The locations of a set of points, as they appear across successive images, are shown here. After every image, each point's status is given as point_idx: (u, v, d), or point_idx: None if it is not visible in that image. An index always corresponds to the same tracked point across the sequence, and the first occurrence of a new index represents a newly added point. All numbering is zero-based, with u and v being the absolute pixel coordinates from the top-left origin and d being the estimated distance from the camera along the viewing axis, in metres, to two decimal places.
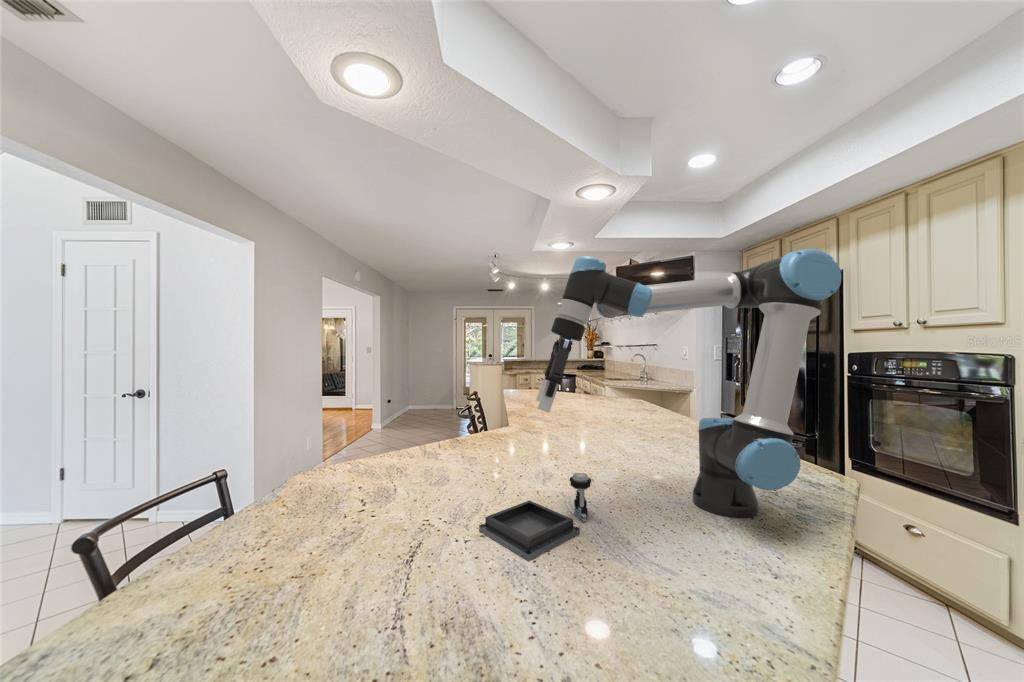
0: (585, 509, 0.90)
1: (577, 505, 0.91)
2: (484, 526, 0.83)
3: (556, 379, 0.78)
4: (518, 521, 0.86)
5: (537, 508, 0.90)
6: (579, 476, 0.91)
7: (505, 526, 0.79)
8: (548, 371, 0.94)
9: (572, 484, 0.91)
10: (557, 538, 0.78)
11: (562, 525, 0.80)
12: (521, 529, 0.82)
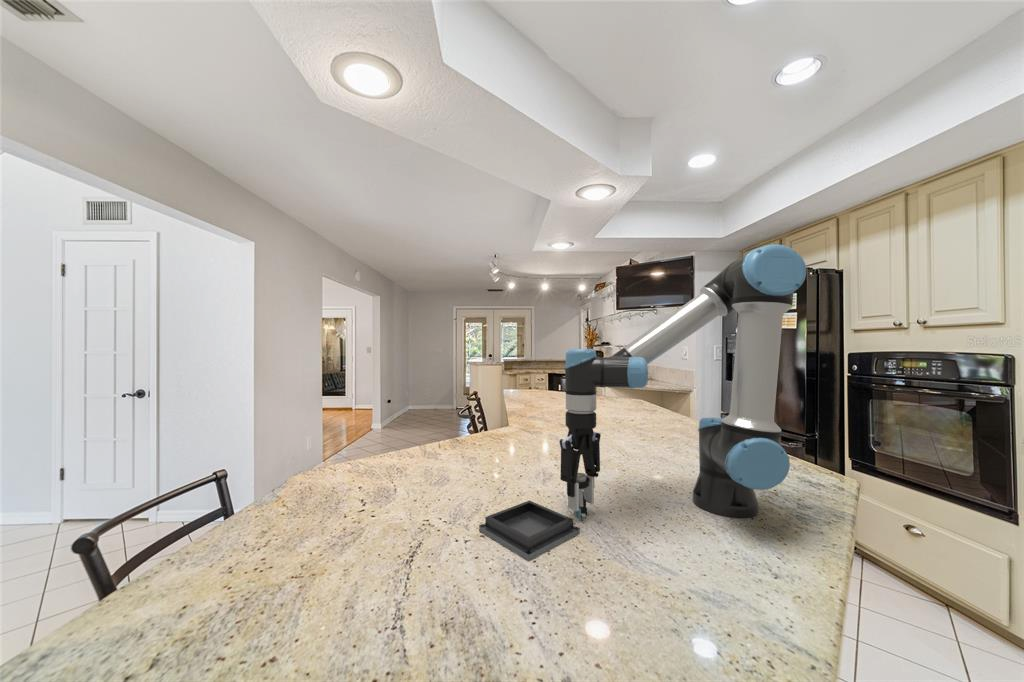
0: (585, 509, 0.90)
1: None
2: (484, 526, 0.83)
3: (565, 481, 0.87)
4: (518, 521, 0.86)
5: (537, 508, 0.90)
6: (577, 476, 0.91)
7: (505, 526, 0.79)
8: (585, 467, 0.94)
9: None
10: (557, 538, 0.78)
11: (562, 525, 0.80)
12: (521, 529, 0.82)
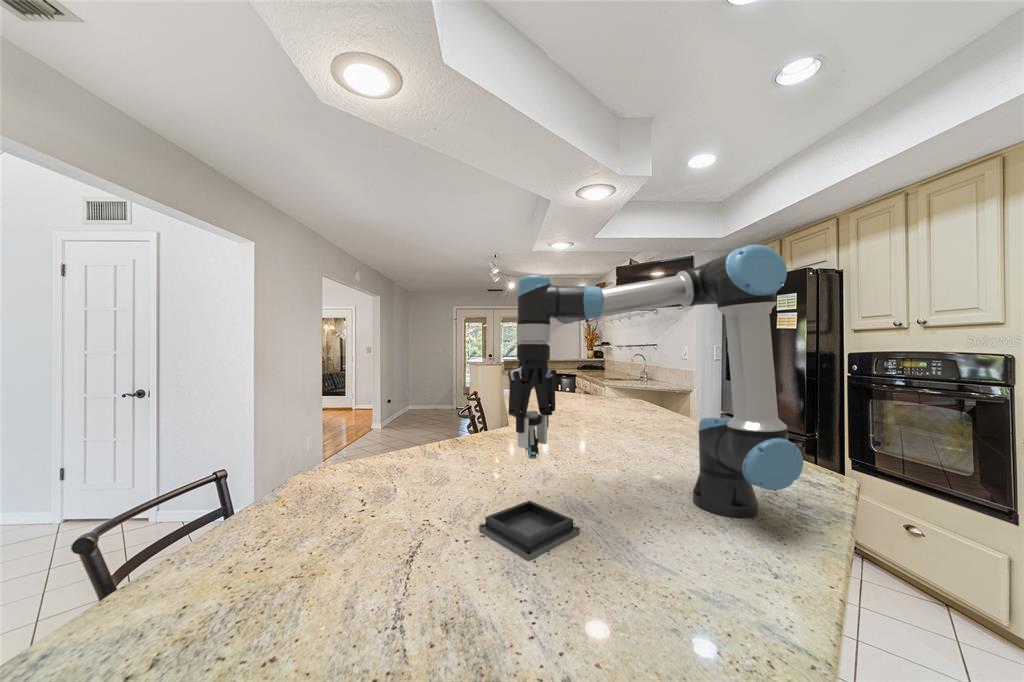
0: (535, 447, 0.83)
1: None
2: (484, 526, 0.83)
3: (513, 415, 0.81)
4: (518, 521, 0.86)
5: (537, 508, 0.90)
6: (528, 413, 0.84)
7: (505, 526, 0.79)
8: (539, 405, 0.87)
9: None
10: (557, 538, 0.78)
11: (562, 525, 0.80)
12: (521, 529, 0.82)
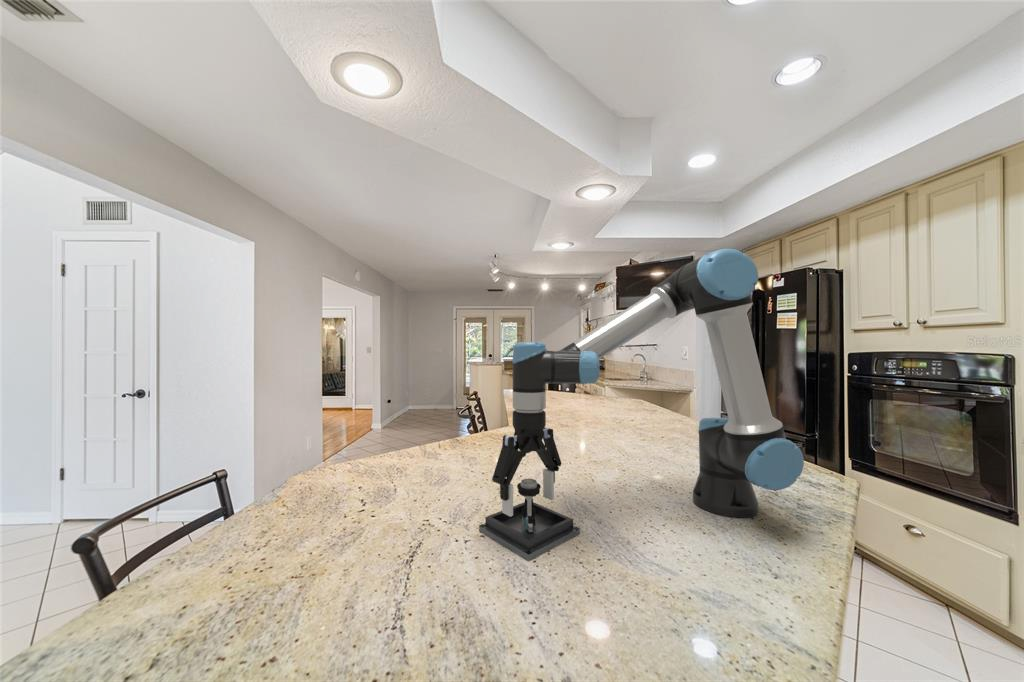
0: (532, 518, 0.82)
1: (524, 514, 0.83)
2: (484, 526, 0.83)
3: (496, 482, 0.77)
4: (518, 521, 0.86)
5: (537, 508, 0.90)
6: (527, 482, 0.83)
7: (505, 526, 0.79)
8: (544, 463, 0.88)
9: (519, 491, 0.83)
10: (557, 538, 0.78)
11: (562, 525, 0.80)
12: (521, 529, 0.82)
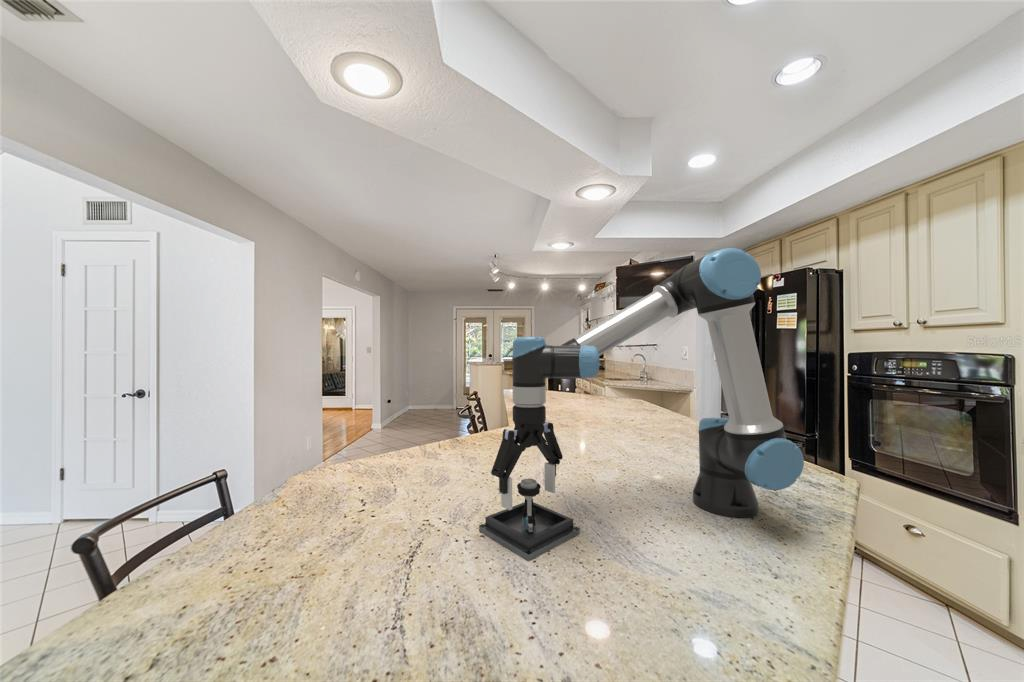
0: (532, 518, 0.82)
1: (524, 514, 0.83)
2: (484, 526, 0.83)
3: (495, 475, 0.77)
4: (518, 521, 0.86)
5: (537, 508, 0.90)
6: (527, 482, 0.83)
7: (505, 526, 0.79)
8: (545, 457, 0.88)
9: (519, 491, 0.83)
10: (557, 538, 0.78)
11: (562, 525, 0.80)
12: (521, 529, 0.82)
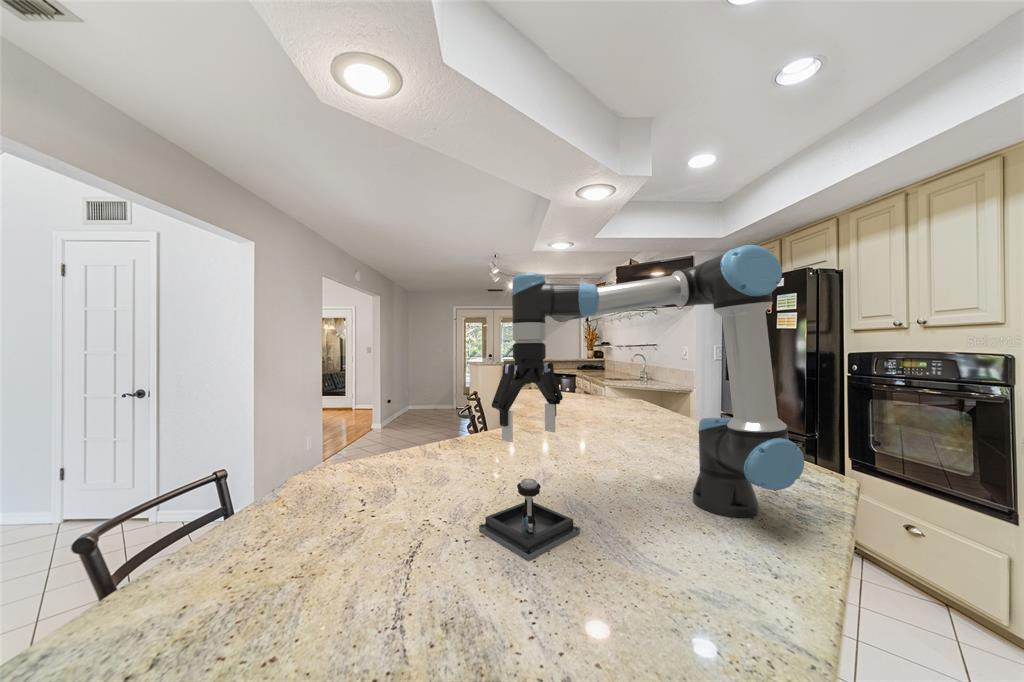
0: (532, 518, 0.82)
1: (524, 514, 0.83)
2: (484, 526, 0.83)
3: (496, 407, 0.77)
4: (518, 521, 0.86)
5: (537, 508, 0.90)
6: (527, 482, 0.83)
7: (505, 526, 0.79)
8: (545, 397, 0.89)
9: (519, 491, 0.83)
10: (557, 538, 0.78)
11: (562, 525, 0.80)
12: (521, 529, 0.82)
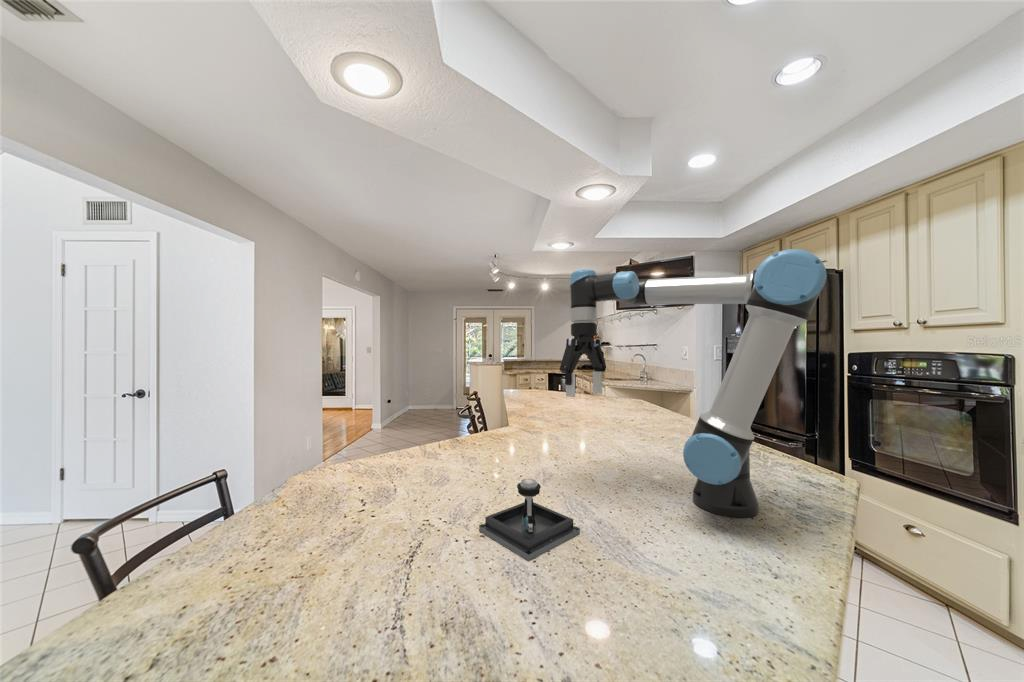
0: (532, 518, 0.82)
1: (524, 514, 0.83)
2: (484, 526, 0.83)
3: (563, 370, 1.02)
4: (518, 521, 0.86)
5: (537, 508, 0.90)
6: (527, 482, 0.83)
7: (505, 526, 0.79)
8: (593, 366, 1.14)
9: (519, 491, 0.83)
10: (557, 538, 0.78)
11: (562, 525, 0.80)
12: (521, 529, 0.82)
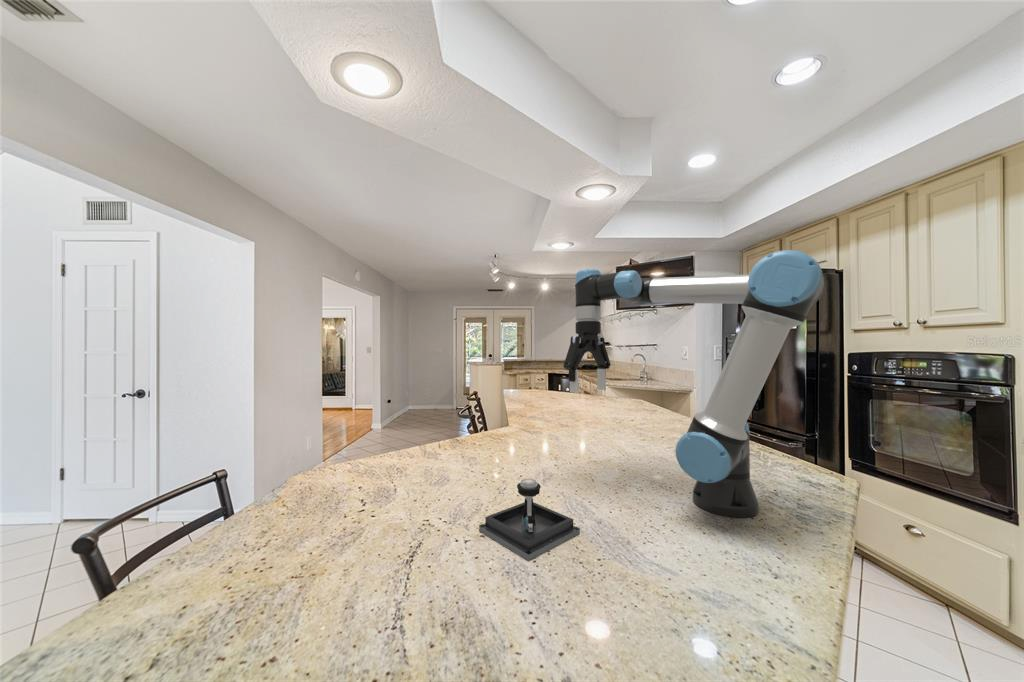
0: (532, 518, 0.82)
1: (524, 514, 0.83)
2: (484, 526, 0.83)
3: (567, 367, 1.05)
4: (518, 521, 0.86)
5: (537, 508, 0.90)
6: (527, 482, 0.83)
7: (505, 526, 0.79)
8: (598, 364, 1.17)
9: (519, 491, 0.83)
10: (557, 538, 0.78)
11: (562, 525, 0.80)
12: (521, 529, 0.82)
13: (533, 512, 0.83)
